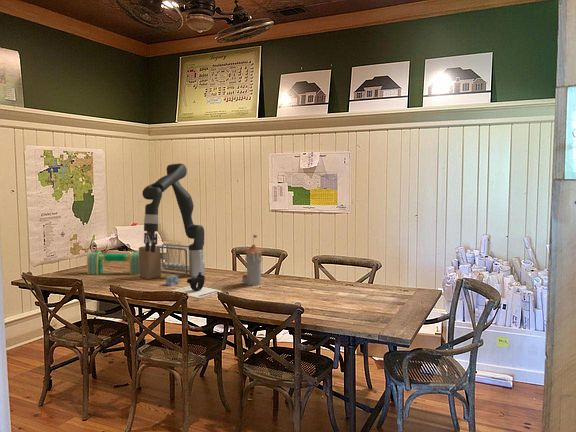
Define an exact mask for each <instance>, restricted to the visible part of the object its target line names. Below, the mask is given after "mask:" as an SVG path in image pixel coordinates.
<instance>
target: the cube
mask: <svg viewBox="0 0 576 432" xmlns="http://www.w3.org/2000/svg"><path fill="white" fill-rule="evenodd" d="M165 285H166V286H169V287H173V286H177V285H179V276H178V275H174V274H173V275H168V276H166V277H165Z"/></svg>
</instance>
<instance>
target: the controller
mask: <svg viewBox="0 0 576 432" xmlns="http://www.w3.org/2000/svg"><path fill="white" fill-rule="evenodd" d="M198 273H199V275H198V276H195V277H190V278H187V280H186V283H187V284H189V286H190V287H191V289H192V290H194V291H199V290H201V289H202V288H203V287H205V286H204V284H205V279H206V278H205V275H202V274H201V273H202V272H198Z"/></svg>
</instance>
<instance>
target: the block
mask: <svg viewBox="0 0 576 432" xmlns="http://www.w3.org/2000/svg"><path fill="white" fill-rule="evenodd" d="M138 252H139V269H140V275H139V278H141V279H145V280H152V279H157V278H160V277H161V276H162V272H161V271H162V254H161V248H160V247H159V246H158V245H156V246H155V252H151V244H150V250H149V251H145V246H140V247H138Z"/></svg>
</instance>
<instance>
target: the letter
mask: <svg viewBox="0 0 576 432" xmlns="http://www.w3.org/2000/svg"><path fill="white" fill-rule="evenodd" d="M171 291H179V292H185V293H187V294H188V295H187V296H189V297H192V298H196V299H200V298H205V297H207V296H211V295H214V294H218V293H217V292H219V293H222V292H223V291H222V290H219V289H216V288H215V289H214V288H210V287H206V286H203V288H202V289H201V290H199V291H194V290H192V289H191V287H190V285H188V286H185V287H181V288H176V289H173V290H171Z"/></svg>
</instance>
